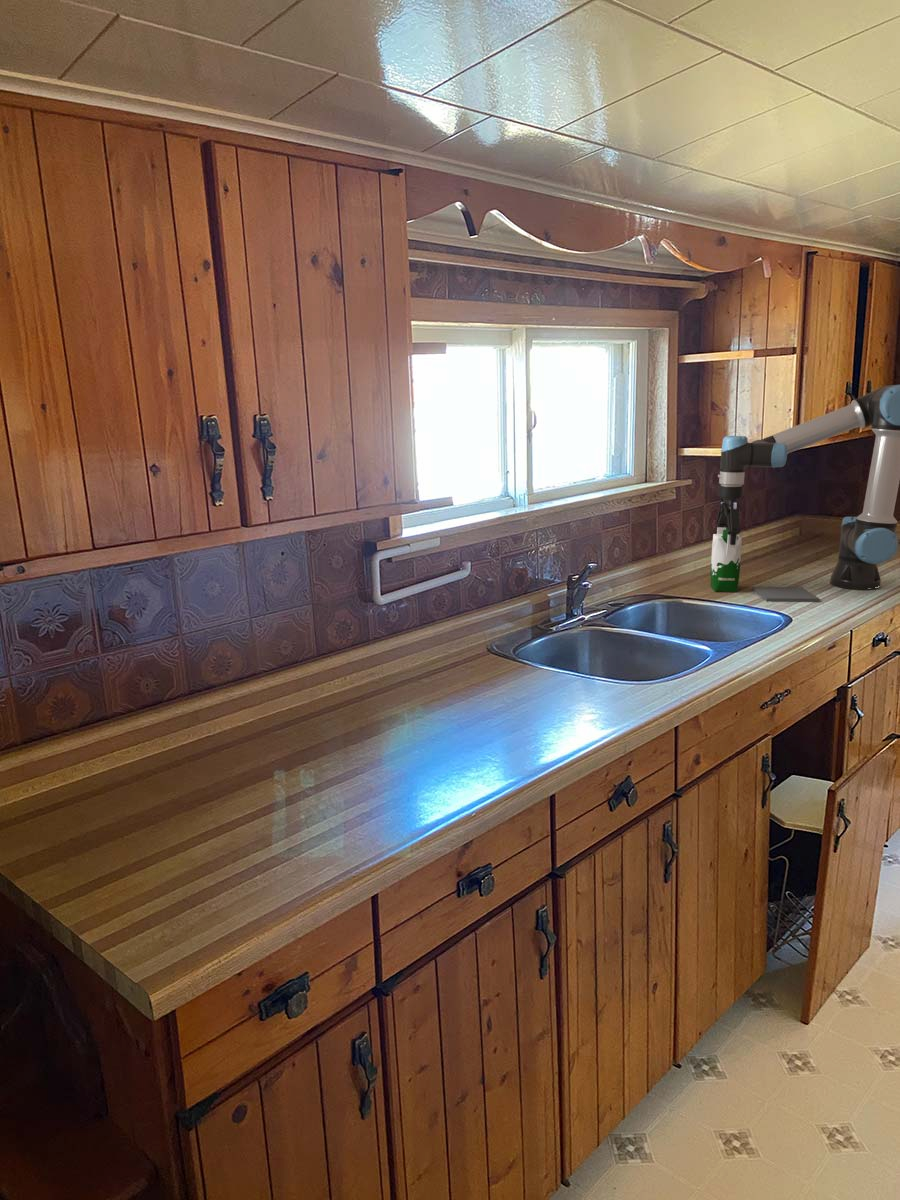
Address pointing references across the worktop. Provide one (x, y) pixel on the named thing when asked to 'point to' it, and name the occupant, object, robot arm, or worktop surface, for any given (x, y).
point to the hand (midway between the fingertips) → (725, 550)
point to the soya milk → (725, 564)
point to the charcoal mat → (785, 594)
